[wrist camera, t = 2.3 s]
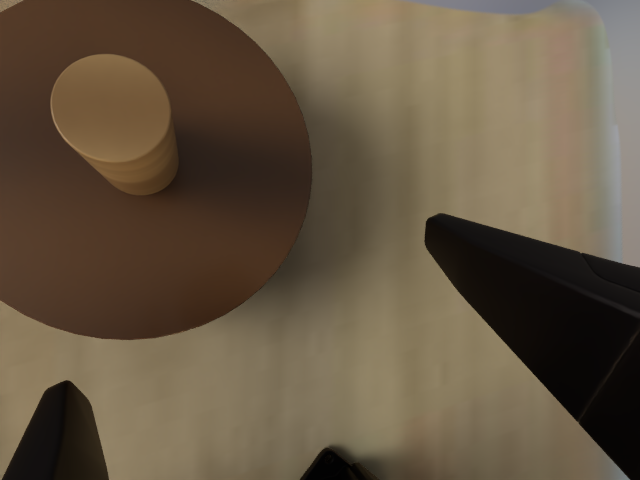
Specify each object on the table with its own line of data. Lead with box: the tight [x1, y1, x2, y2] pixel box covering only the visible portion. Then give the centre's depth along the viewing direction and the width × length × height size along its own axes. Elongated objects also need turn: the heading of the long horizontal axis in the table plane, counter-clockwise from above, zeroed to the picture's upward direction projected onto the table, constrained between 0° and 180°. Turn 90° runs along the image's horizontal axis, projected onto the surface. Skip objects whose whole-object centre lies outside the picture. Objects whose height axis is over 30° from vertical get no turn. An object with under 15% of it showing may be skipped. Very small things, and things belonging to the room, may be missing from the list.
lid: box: [0, 0, 312, 340], centre depth 15 cm, size 15×15×7 cm
